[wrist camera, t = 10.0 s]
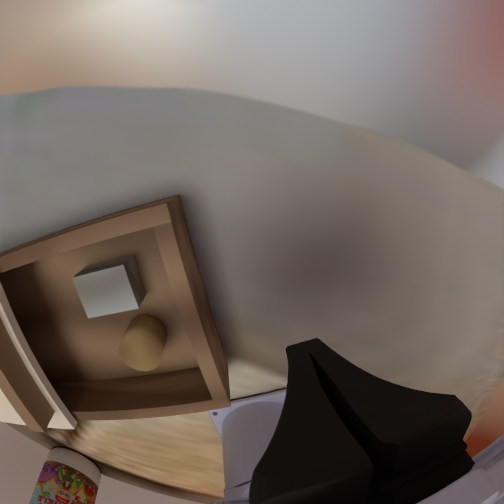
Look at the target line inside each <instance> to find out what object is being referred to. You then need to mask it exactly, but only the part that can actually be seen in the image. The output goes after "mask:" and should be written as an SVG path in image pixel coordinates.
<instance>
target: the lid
mask: <svg viewBox="0 0 504 504" xmlns="http://www.w3.org/2000/svg"><path fill="white" fill-rule="evenodd" d="M0 421H1V422H7V423H14V424H21V425H27V426H28V428H29V429H30V430H31V431H38V432H45V430H46V428H47V427H48V428H62V429H75V427H76V424H77V422H76V420H75V419H74V418H73V416H72V415H71V413H70V412H69V411H68V409H67V408H66V406H65V405H64V403H63V402H62V401H61V399H60V398H59V396H58V395H57V393H56V391H55V390H54V388H53V387H52V385H51V384H50V382H49V380H48V379H47V377H46V375H45V374H44V372H43V370H42V369H41V367H40V365H39V364H38V362H37V360H36V358H35V356H34V355H33V353H32V351H31V349H30V347H29V345H28V343H27V341H26V339H25V337H24V335H23V333H22V331H21V329H20V327H19V325H18V323H17V321H16V318H15V316H14V314H13V312H12V309H11V307H10V305H9V302H8V300H7V297H6V295H5V292H4V290H3V287H2V285H1V282H0Z"/></svg>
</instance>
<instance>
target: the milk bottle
mask: <svg viewBox="0 0 504 504" xmlns="http://www.w3.org/2000/svg"><path fill="white" fill-rule="evenodd" d="M100 478H101V473H100V470H99V469H98V467H97V466H96V465H95V464H94V463H93V462H92V461H90V460H89V459H87V458H86V457H84V456H82V455H81V454H79V453H77V452H74V451H72V450H69V449H66V448H61V447H56V448H53V449H52V450H51V451H50V452H49V454H48V457H47V459H46V461H45V463H44V466H43V468H42V471H41V473H40V476H39V478H38V481H37V483H36V486H35V489H34V492H33V494H32V497H31V500H30V504H95V499H96V495H97V491H98V487H99V483H100Z"/></svg>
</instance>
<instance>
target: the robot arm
mask: <svg viewBox="0 0 504 504" xmlns="http://www.w3.org/2000/svg"><path fill="white" fill-rule="evenodd" d="M286 353H287V358H288V383H287V389H283V390H279V391H275V392H271V393H267V394H262V395H258V396H253V397H249V398H244V399H239V400H234V401H230V402H231V407H227V408H221V409H215V410H209V414H210V416H211V418H212V420H213V422H214V424H215V426H216V428H217V430H218V432H219V434H220V436H221V439H222V446H223V463H224V478H225V489H224V495H225V503H223V500H215V501H214V503H213V504H504V434H503V435H502V436H501V437H500V438H498V439H497V440H496V441H495V442H493V443H492V444H491V445H489V446H488V447H487V448H485V449H484V450H483V451H481V452H480V453H479V454H477V455H476V456H474V457H473V458H471V457H470V456H469V454H468V453H467V452H466V450H465V449H466V448H467V444H466V443H465V442H464V441H463V437H464V435H465V433H466V431H467V429H468V427H469V424H470V421H471V418H472V415H471V412H470V410H469V409H468V408H467V407H466V406H465V405H464V404H463V402H462V401H461V400H459V399H458V398H457V397H456V396H455V395H449V394H438V393H429V392H424V391H419V390H414V389H410V388H406V387H403V386H400V385H397V384H393V383H391V382H388V381H385V380H383V379H380V378H378V377H376V376H374V375H372V374H370V373H368V372H366V371H364V370H362V369H361V368H359V367H357V366H355V365H354V364H352V363H351V362H349V361H348V360H346V359H345V358H343V357H342V356H340V355H339V354H337V353H336V352H335V351H333V350H332V349H331V348H329V347H328V346H327V345H326V344H324V343H323V342H322V341H321V340H320V339H318V338H315V339H311V340H308V341H304V342H301V343H297V344H294V345H290V346H288V347H287V348H286ZM213 412H217V413H213Z"/></svg>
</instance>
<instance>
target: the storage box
mask: <svg viewBox="0 0 504 504" xmlns="http://www.w3.org/2000/svg"><path fill="white" fill-rule="evenodd" d="M0 282H1V285H2V287H3V290H4V292H5V295H6V297H7V300H8V302H9V305H10V307H11V309H12V312H13V314H14V316H15V318H16V321H17V323H18V325H19V327H20V329H21V331H22V333H23V335H24V337H25V339H26V341H27V343H28V345H29V347H30V349H31V351H32V353H33V355H34V356H35V358H36V360H37V362H38V364H39V365H40V367H41V369H42V370H43V372H44V374H45V375H46V377H47V379H48V380H49V382H50V384H51V385H52V387H53V388H54V390H55V391H56V393H57V395H58V396H59V398H60V399H61V401H62V402H63V403H64V405H65V406H66V408H67V409H68V411H69V412H70V413H71V415H72V416H73V418H74V419H75V420H122V419H139V418H152V417H163V416H172V415H181V414H189V413H196V412H203V411H209V410H215V409H221V408H227V407H231V402H230V389H229V376H228V365H227V361H226V358H225V355H224V352H223V349H222V346H221V343H220V340H219V337H218V333H217V330H216V327H215V324H214V321H213V317H212V314H211V311H210V307H209V304H208V301H207V297H206V294H205V290H204V287H203V283H202V280H201V276H200V273H199V269H198V266H197V262H196V258H195V255H194V251H193V247H192V244H191V240H190V236H189V232H188V228H187V224H186V221H185V217H184V213H183V209H182V205H181V200H180V196H179V195H177V196H173V197H169V198H165V199H162V200H158V201H154V202H151V203H147V204H143V205H140V206H136V207H133V208H130V209H126V210H123V211H119V212H116V213H113V214H110V215H106V216H103V217H100V218H97V219H94V220H90V221H87V222H84V223H81V224H78V225H75V226H72V227H69V228H66V229H64V230H61V231H58V232H55V233H52V234H49V235H47V236H44V237H41V238H38V239H36V240H33V241H30V242H28V243H25V244H22V245H20V246H17V247H15V248H12V249H10V250H7V251H5V252H2V253H0Z"/></svg>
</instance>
